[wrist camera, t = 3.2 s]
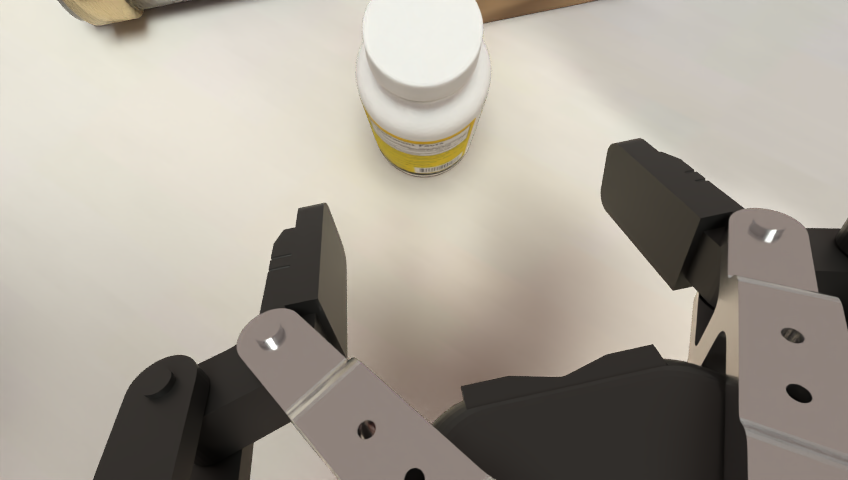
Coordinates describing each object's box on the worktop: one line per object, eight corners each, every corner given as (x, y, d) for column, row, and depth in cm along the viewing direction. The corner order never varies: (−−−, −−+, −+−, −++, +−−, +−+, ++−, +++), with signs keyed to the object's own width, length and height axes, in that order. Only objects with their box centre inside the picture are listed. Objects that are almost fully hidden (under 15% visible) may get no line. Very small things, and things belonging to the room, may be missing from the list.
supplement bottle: (406, 67, 23) (395, -82, 13) (488, 115, 23) (539, -1, 13) (356, 148, 23) (309, 55, 13) (440, 196, 23) (455, 139, 13)
